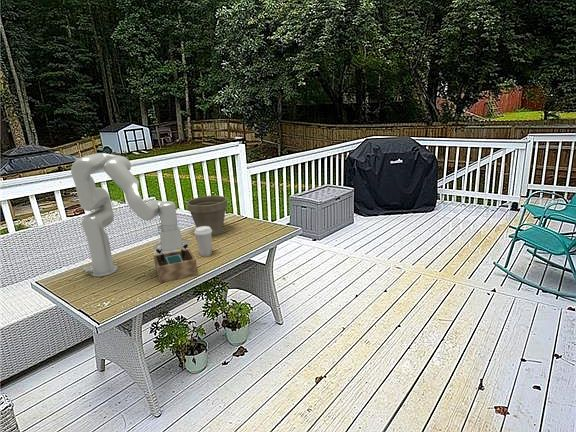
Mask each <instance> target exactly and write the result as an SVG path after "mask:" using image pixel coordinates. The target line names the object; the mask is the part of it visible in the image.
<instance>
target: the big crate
mask: <svg viewBox="0 0 576 432" xmlns="http://www.w3.org/2000/svg"><path fill="white" fill-rule="evenodd" d="M178 254H179V255H180V256H181V258H182V260H183V261H182V262H177V263H173V264H168V265H166V258H165V257H168V256H173V255H178ZM164 260H165V262H163V260H161V256H160V254H158V255H155V254H154V255H153V261H154V266H155V272H156V274H157V277H158V282H159V283H160V284H161V283H164V282H169V281H174V280H178V279H182V278H183V279H184V278H187V277H191V276H195V275H198V266H197V259H196V258H195V256H194V254H193V252H192V251H191V249H190V248H186V249H185V256H184V258H183V257H182V253H181V249H179V250H176V251H175V252H170V253H165V254H164Z"/></svg>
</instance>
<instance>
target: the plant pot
mask: <svg viewBox="0 0 576 432" xmlns="http://www.w3.org/2000/svg"><path fill="white" fill-rule="evenodd" d="M186 206H187V210H188V211H189V212H190V215H191V217H192V219H193V222H194V225H195V229H196V228H198V227H201V226H209V227H210V228H211V229H212V232H211V237H214V236H217V235H219V234H221V233H222V232H223V228H224V224H225V218H226V217H225V216H226V209H227V207H228V198H227V197H225V196H223V195H221V196H220V195H205V196H200V197H194V198H191V199H189V200H188V201H187V202H186Z"/></svg>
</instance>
